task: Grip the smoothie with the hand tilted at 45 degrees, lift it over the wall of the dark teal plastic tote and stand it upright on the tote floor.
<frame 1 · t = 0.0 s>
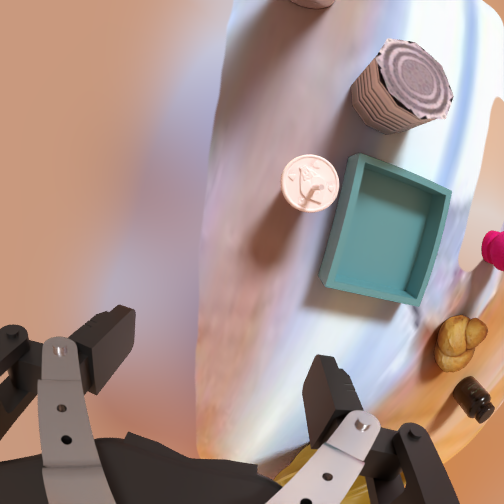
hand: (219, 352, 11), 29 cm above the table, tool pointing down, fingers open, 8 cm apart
bread roll: (446, 339, 43), on the table
can: (383, 101, 35), on the table
planter bowl: (331, 450, 49), on the table
supplement bottle: (462, 386, 45), on the table
tote: (382, 230, 39), on the table
pepper mill: (489, 246, 38), on the table
smoothie: (299, 185, 38), on the table
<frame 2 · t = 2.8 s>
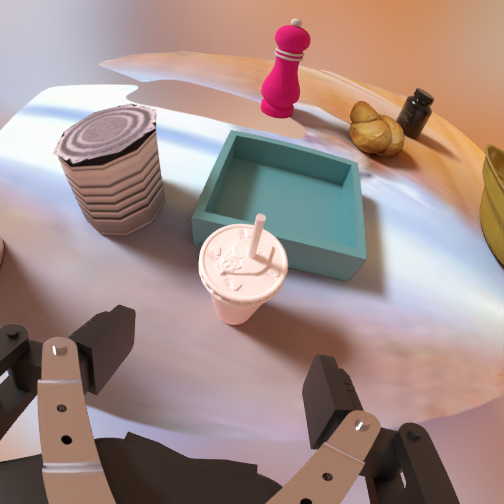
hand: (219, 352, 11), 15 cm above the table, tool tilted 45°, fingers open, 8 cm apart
bread roll: (373, 148, 48), on the table
can: (124, 202, 33), on the table
planter bowl: (499, 242, 41), on the table
supplement bottle: (405, 131, 56), on the table
tote: (281, 210, 35), on the table
pepper mill: (276, 111, 49), on the table
smoothie: (233, 308, 28), on the table
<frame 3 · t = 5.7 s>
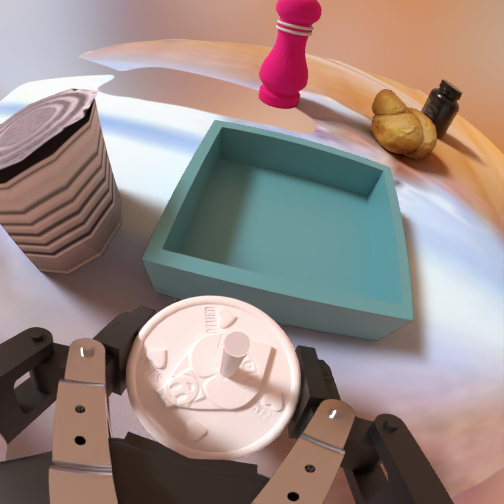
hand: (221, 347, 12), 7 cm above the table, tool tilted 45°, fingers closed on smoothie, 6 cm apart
bread roll: (399, 147, 38), on the table
can: (71, 224, 22), on the table
supplement bottle: (429, 129, 45), on the table
tote: (286, 235, 24), on the table
pepper mill: (278, 100, 39), on the table
smoothie: (213, 391, 17), on the table, touching gripper
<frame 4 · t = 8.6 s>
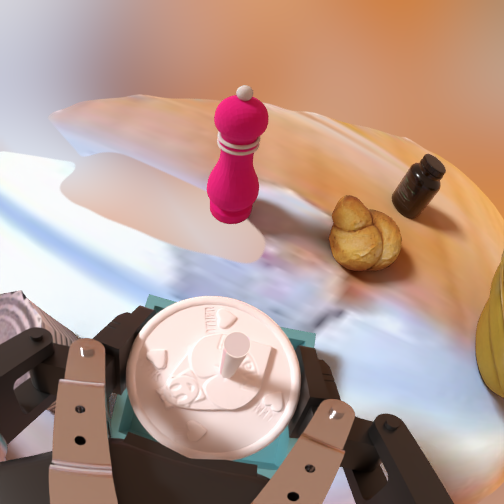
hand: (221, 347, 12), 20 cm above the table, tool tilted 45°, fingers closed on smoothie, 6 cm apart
bread roll: (360, 252, 41), on the table
can: (56, 368, 26), on the table
planter bowl: (493, 352, 34), on the table
supplement bottle: (404, 206, 49), on the table
tote: (213, 393, 28), on the table
pepper mill: (230, 209, 42), on the table
smoothie: (213, 391, 17), point 13 cm above the table, touching gripper
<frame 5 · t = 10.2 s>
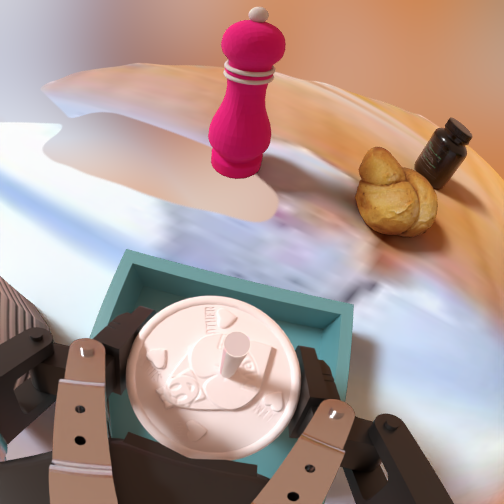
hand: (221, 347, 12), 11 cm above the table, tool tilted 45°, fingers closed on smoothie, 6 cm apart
bread roll: (390, 218, 33), on the table
can: (13, 351, 18), on the table
supplement bottle: (427, 176, 41), on the table
tote: (212, 391, 20), on the table
pepper mill: (235, 163, 34), on the table
smoothie: (213, 391, 17), point 3 cm above the table, touching gripper
when the fingers open (10 cm above the table, at t = 11.5 s): smoothie drops 1 cm, resting on tote.
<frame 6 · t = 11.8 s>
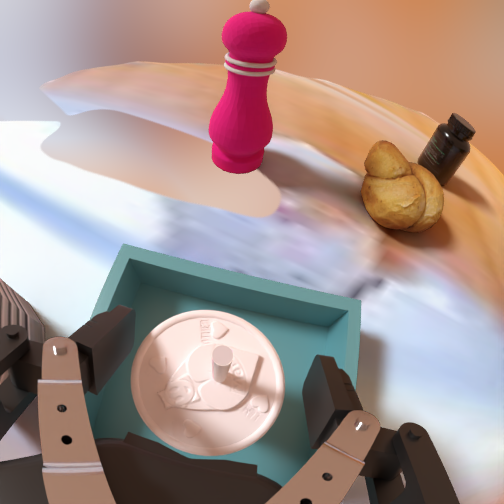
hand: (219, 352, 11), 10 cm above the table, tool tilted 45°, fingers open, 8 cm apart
bread roll: (395, 213, 32), on the table
can: (7, 351, 17), on the table
supplement bottle: (431, 173, 40), on the table
tote: (213, 392, 19), on the table
pepper mill: (236, 158, 33), on the table
smoothie: (210, 395, 18), point 1 cm above the table, touching tote
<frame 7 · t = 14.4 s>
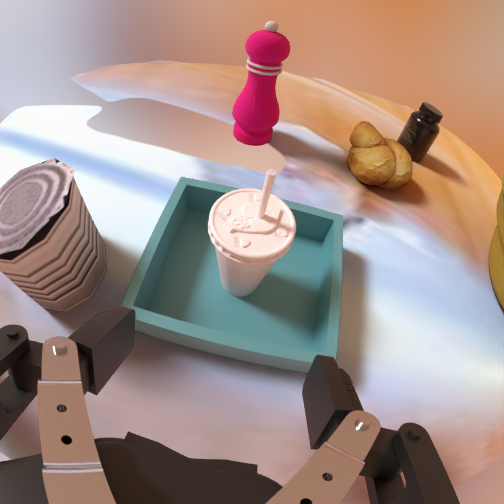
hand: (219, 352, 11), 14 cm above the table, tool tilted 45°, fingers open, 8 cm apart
bread roll: (376, 177, 42), on the table
can: (66, 267, 27), on the table
supplement bottle: (408, 152, 50), on the table
tote: (240, 282, 29), on the table
pepper mill: (252, 136, 43), on the table
smoothie: (239, 280, 28), point 1 cm above the table, touching tote
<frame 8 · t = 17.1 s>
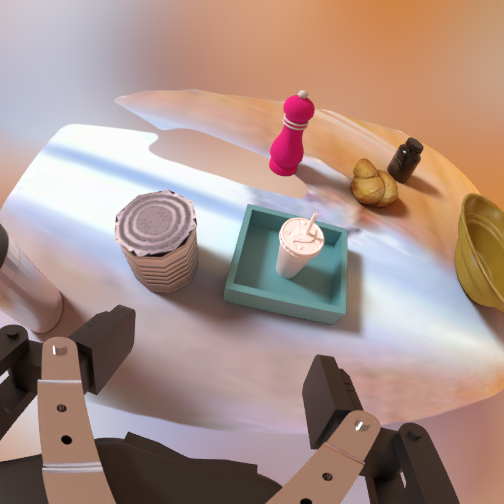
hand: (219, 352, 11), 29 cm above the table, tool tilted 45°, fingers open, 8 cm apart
bread roll: (371, 197, 61), on the table
can: (165, 263, 45), on the table
planter bowl: (471, 277, 53), on the table
supplement bottle: (396, 175, 68), on the table
tote: (286, 270, 47), on the table
pepper mill: (282, 168, 61), on the table
smoothie: (286, 269, 46), point 1 cm above the table, touching tote
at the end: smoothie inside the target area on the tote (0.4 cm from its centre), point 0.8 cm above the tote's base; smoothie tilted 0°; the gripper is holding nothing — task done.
